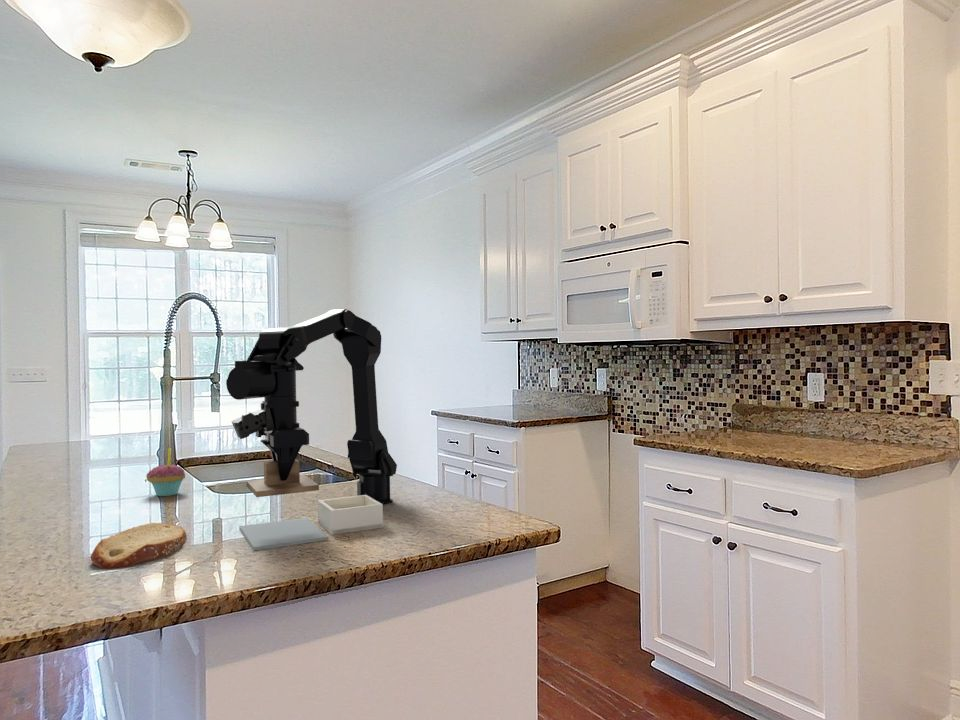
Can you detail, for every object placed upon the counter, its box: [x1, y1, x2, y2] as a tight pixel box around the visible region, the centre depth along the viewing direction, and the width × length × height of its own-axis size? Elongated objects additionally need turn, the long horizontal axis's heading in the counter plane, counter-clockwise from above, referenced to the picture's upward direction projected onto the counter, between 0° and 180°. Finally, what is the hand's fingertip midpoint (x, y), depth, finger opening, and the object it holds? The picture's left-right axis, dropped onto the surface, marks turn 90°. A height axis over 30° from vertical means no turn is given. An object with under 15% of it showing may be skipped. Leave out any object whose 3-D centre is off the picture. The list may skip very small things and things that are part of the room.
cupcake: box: [145, 445, 186, 497], centre depth 163 cm, size 9×8×12 cm
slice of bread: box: [90, 522, 187, 570], centre depth 118 cm, size 18×18×4 cm
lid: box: [245, 458, 320, 498], centre depth 126 cm, size 11×11×5 cm
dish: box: [317, 495, 384, 536], centre depth 132 cm, size 10×10×4 cm
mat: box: [238, 517, 329, 552], centre depth 126 cm, size 13×16×1 cm
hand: (281, 479), depth 126 cm, fingers closed on lid, 2 cm apart
